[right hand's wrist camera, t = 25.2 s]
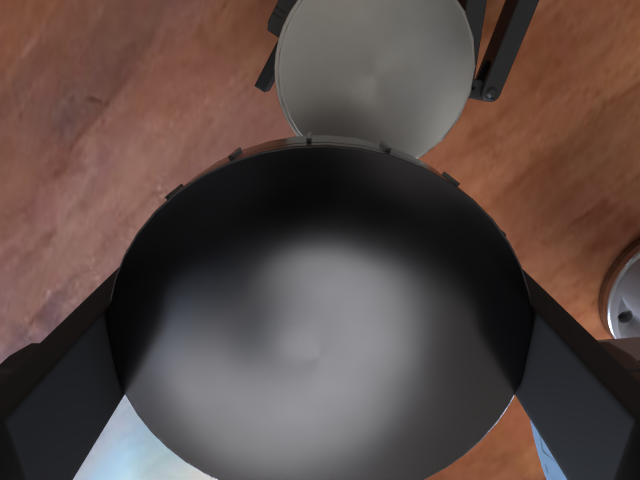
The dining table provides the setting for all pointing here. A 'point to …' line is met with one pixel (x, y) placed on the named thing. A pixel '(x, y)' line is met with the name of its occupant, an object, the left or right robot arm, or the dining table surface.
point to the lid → (320, 316)
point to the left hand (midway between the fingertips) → (327, 129)
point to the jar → (375, 70)
